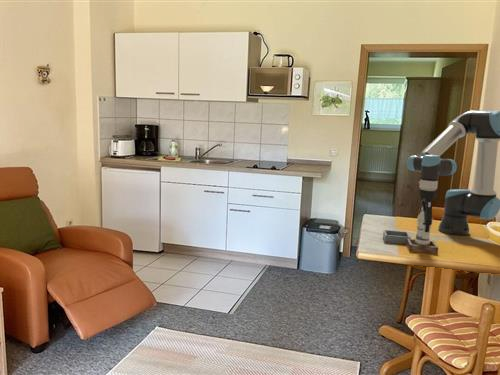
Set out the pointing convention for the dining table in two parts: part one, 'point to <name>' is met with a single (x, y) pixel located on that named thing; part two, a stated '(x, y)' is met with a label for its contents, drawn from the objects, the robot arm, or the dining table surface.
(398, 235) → the grey tray
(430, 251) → the walnut collar
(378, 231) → the dining table surface
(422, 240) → the silver metal bottle
